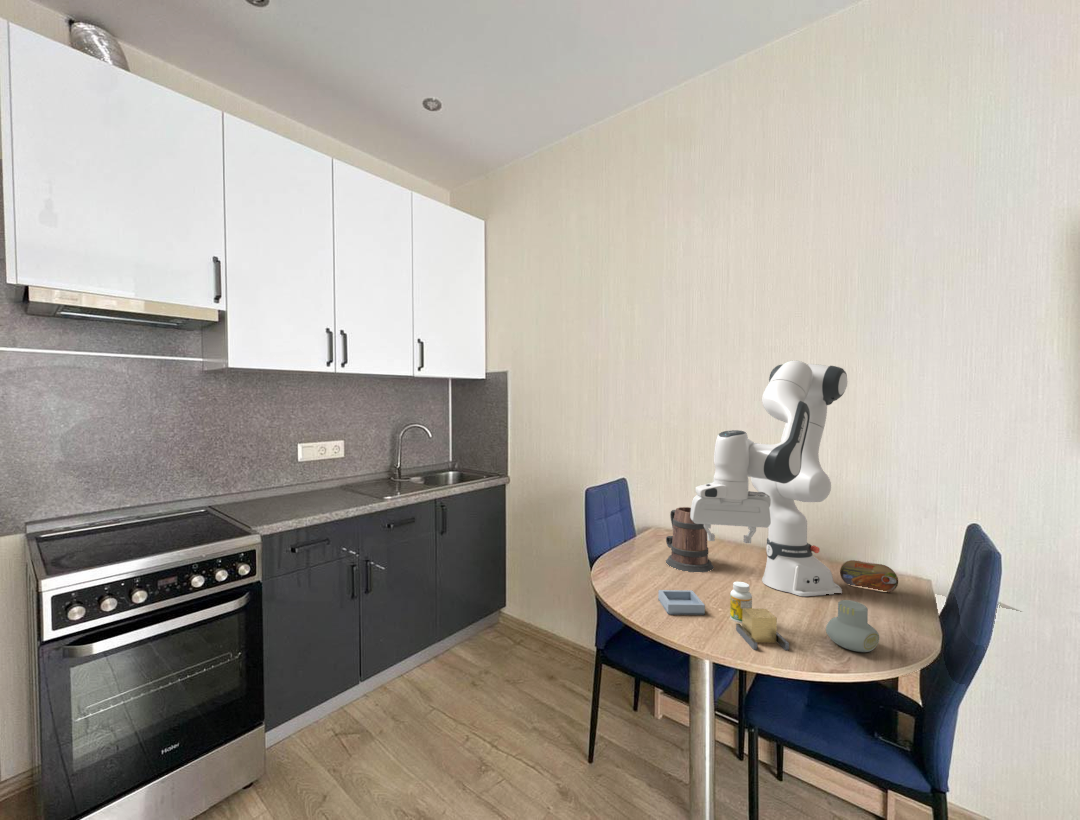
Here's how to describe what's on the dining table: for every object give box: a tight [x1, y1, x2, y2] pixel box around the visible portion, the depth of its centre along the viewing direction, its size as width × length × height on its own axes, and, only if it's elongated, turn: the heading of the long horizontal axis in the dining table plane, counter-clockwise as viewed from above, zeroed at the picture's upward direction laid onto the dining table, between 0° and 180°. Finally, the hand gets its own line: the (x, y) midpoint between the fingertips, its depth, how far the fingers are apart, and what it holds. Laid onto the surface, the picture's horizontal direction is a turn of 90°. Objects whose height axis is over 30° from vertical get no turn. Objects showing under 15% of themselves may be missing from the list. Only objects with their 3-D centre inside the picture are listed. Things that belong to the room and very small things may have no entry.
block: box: [741, 608, 778, 644], centre depth 113 cm, size 6×5×6 cm
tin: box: [839, 559, 899, 593], centre depth 146 cm, size 15×3×8 cm, turn 56°
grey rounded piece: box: [825, 599, 880, 653], centre depth 110 cm, size 11×8×10 cm
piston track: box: [735, 623, 790, 652], centre depth 116 cm, size 10×18×2 cm, turn 0°
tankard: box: [665, 506, 715, 573], centre depth 170 cm, size 24×17×20 cm
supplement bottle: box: [729, 581, 753, 624], centre depth 123 cm, size 5×5×10 cm
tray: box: [657, 589, 706, 616], centre depth 130 cm, size 10×10×3 cm
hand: (729, 541), depth 124 cm, fingers open, 8 cm apart
